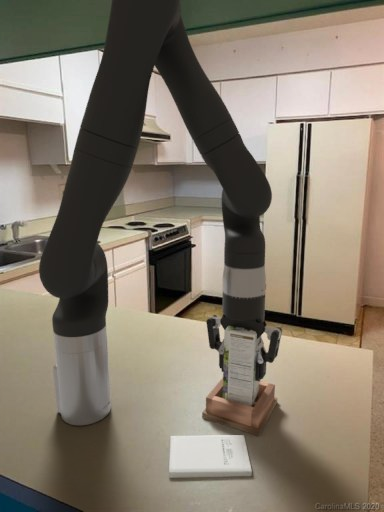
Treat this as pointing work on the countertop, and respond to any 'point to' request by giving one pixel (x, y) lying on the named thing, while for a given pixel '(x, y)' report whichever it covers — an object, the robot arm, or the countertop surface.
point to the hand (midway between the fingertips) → (242, 374)
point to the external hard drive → (209, 456)
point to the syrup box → (240, 365)
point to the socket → (241, 409)
